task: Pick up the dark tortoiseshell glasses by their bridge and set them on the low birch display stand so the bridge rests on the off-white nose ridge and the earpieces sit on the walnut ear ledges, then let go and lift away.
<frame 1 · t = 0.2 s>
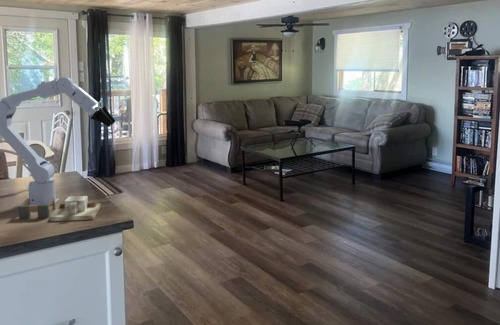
hand: (112, 123, 188), 32 cm above the table, tool tilted 50°, fingers open, 7 cm apart
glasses: (34, 217, 174), on the table
display stand: (73, 217, 174), on the table
magnifying glass: (38, 187, 215), on the table
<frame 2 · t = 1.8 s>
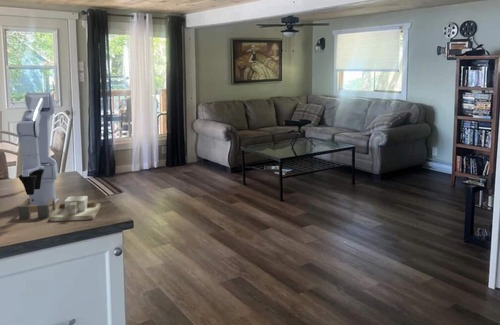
hand: (33, 191, 171), 10 cm above the table, tool pointing down, fingers open, 7 cm apart
nothing on the table moved.
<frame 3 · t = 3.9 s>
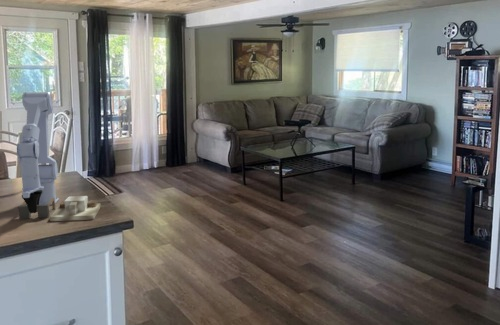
hand: (33, 211, 173), 2 cm above the table, tool pointing down, fingers closed on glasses, 2 cm apart
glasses: (34, 217, 174), on the table, touching gripper
everything else where it was.
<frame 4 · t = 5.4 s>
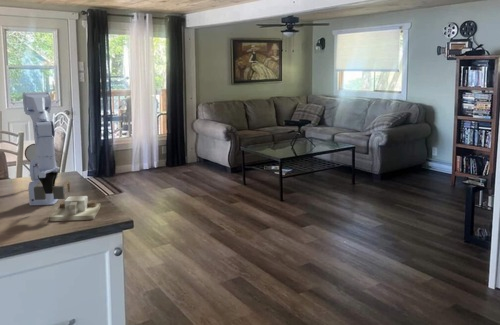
hand: (49, 192, 171), 9 cm above the table, tool pointing down, fingers closed on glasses
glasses: (50, 198, 172), point 7 cm above the table, touching gripper
everything else where it was.
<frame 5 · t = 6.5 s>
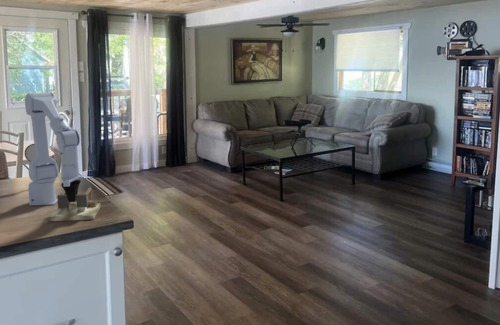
hand: (72, 201, 172), 6 cm above the table, tool pointing down, fingers closed on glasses, 2 cm apart
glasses: (73, 206, 173), point 4 cm above the table, touching gripper
everything else where it was.
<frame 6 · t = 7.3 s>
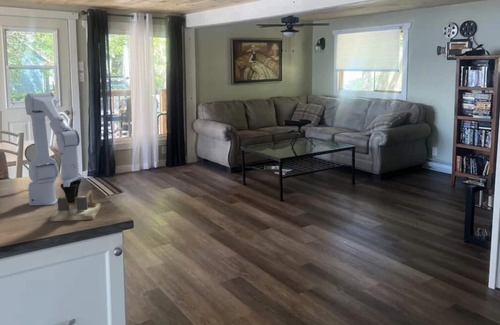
hand: (72, 201, 172), 6 cm above the table, tool pointing down, fingers open, 4 cm apart
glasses: (73, 209, 173), point 3 cm above the table, touching display stand
everything else where it was.
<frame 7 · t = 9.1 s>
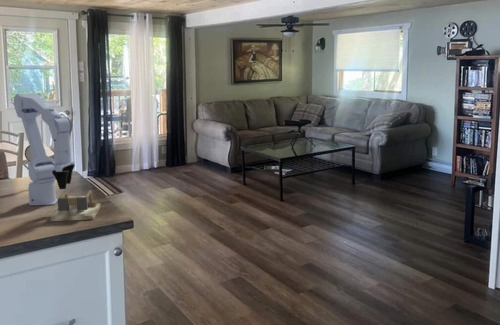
hand: (65, 186, 179), 10 cm above the table, tool pointing down, fingers open, 7 cm apart
nothing on the table moved.
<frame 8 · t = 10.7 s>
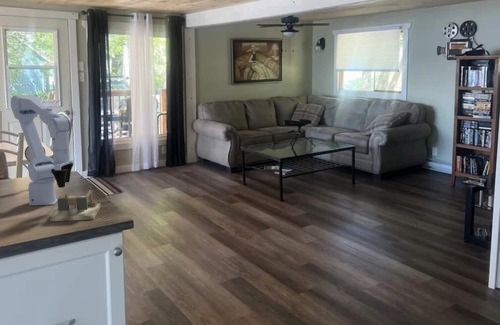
hand: (64, 184, 180), 10 cm above the table, tool pointing down, fingers open, 7 cm apart
nothing on the table moved.
at the end: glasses 0.0 cm off-centre on the display stand, point 3.0 cm above the display stand's base; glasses tilted 0°; the gripper is holding nothing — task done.
